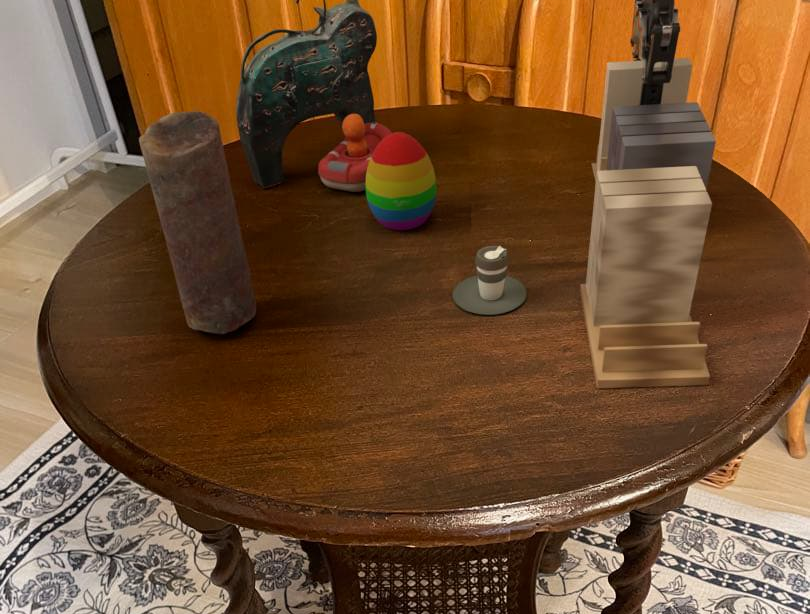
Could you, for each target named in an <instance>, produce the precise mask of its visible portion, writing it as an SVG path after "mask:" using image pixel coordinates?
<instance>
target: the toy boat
mask: <svg viewBox="0 0 810 614" xmlns="http://www.w3.org/2000/svg"><path fill="white" fill-rule="evenodd" d="M341 130H342V133H343V136H344V135H345V136H346V138H345V136H344V139H343V140H342V141H341V142H340V143H339V144H338V145H337V146H336V147H335V148H333V149H332V150H331V151H330V152H328V154H326V155H325V156H324V157H322V159H321V160H320V161H319V163H318V171H317V173H318V176H319V177H320V180H321V183H323V184H324V185H325V186H326V187H328V188H330V189H333V190H340V191H345V192H350V193H361V192H364V191H366V173H367V168H368V164H369V161H370V158H371V156H372V154H373V152H374V150H375V148H376V147H377V145H378V144H379V143H380V142H381V140H382V139H383V138H385V137H386V136H387V135H389V134H391V133H393V132H392V131H391V130H390V129H389V128H388V127H387V126H386V125H384V124H382V123H380V122H375V123H366V124H364V122H363V119H362V118H361V116H360V115H358V114H350V115H348V116H347V117H346V118H345V119H344V121H343V124H342V128H341Z"/></svg>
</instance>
